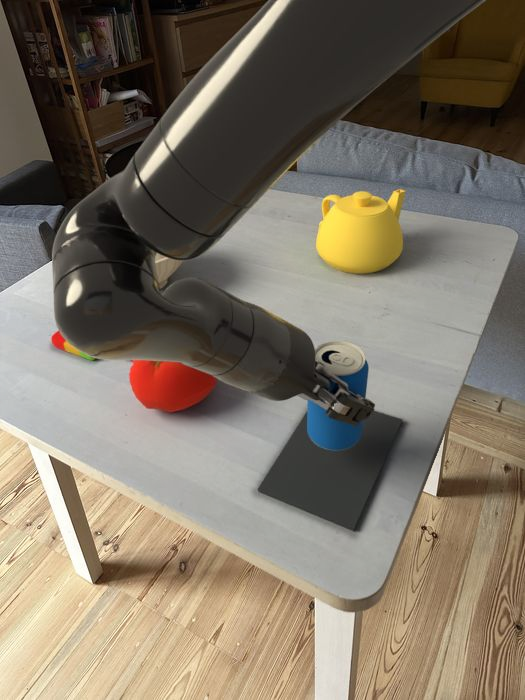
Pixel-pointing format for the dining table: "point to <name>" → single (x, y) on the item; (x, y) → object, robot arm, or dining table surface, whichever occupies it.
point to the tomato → (169, 385)
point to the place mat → (331, 471)
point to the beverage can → (345, 365)
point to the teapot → (360, 232)
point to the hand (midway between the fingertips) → (347, 392)
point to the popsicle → (67, 345)
